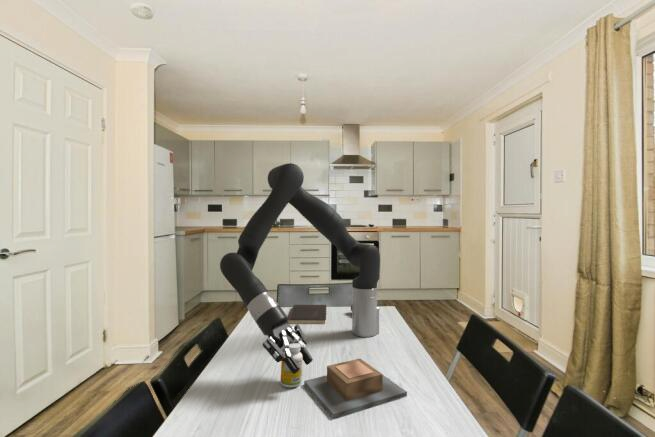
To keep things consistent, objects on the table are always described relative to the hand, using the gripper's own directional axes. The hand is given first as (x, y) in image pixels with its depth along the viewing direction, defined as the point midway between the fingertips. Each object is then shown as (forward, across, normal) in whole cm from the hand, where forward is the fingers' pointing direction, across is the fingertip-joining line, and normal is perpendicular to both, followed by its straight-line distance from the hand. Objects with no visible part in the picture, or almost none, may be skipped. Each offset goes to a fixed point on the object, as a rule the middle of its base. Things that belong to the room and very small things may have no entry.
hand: (303, 366), depth 82 cm
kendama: (-4, +59, +10) cm, 60 cm away
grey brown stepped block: (+12, +5, -5) cm, 14 cm away
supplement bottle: (+1, 0, +6) cm, 6 cm away
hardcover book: (-19, +53, +26) cm, 62 cm away
